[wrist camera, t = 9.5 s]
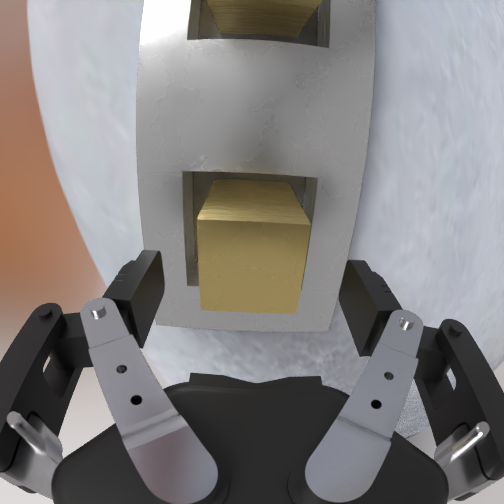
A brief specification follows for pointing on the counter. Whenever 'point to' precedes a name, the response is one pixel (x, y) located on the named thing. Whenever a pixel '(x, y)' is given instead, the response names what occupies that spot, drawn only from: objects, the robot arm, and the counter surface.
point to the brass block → (251, 247)
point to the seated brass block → (262, 16)
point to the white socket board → (253, 143)
